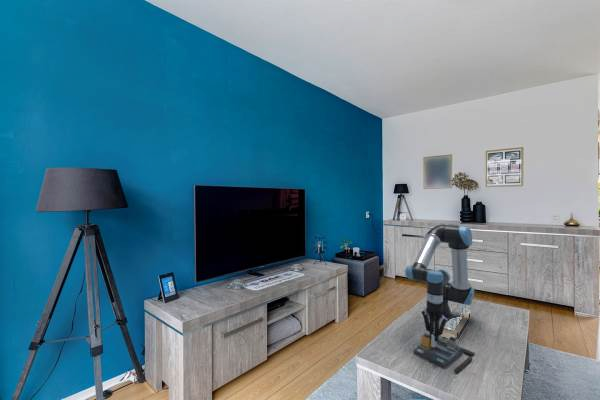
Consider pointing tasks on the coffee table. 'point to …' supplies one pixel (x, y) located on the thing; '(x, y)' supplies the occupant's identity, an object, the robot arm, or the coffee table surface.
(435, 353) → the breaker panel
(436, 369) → the coffee table surface
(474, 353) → the cord front
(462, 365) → the rod
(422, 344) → the block
